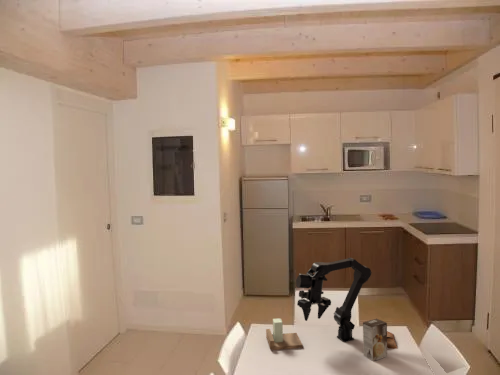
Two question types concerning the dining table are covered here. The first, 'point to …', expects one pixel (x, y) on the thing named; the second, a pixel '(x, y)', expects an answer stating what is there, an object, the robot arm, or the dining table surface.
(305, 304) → the robot arm
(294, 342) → the edge board
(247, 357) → the dining table surface
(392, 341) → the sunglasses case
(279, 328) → the pale green block
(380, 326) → the coffee box
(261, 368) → the dining table surface
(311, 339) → the dining table surface
